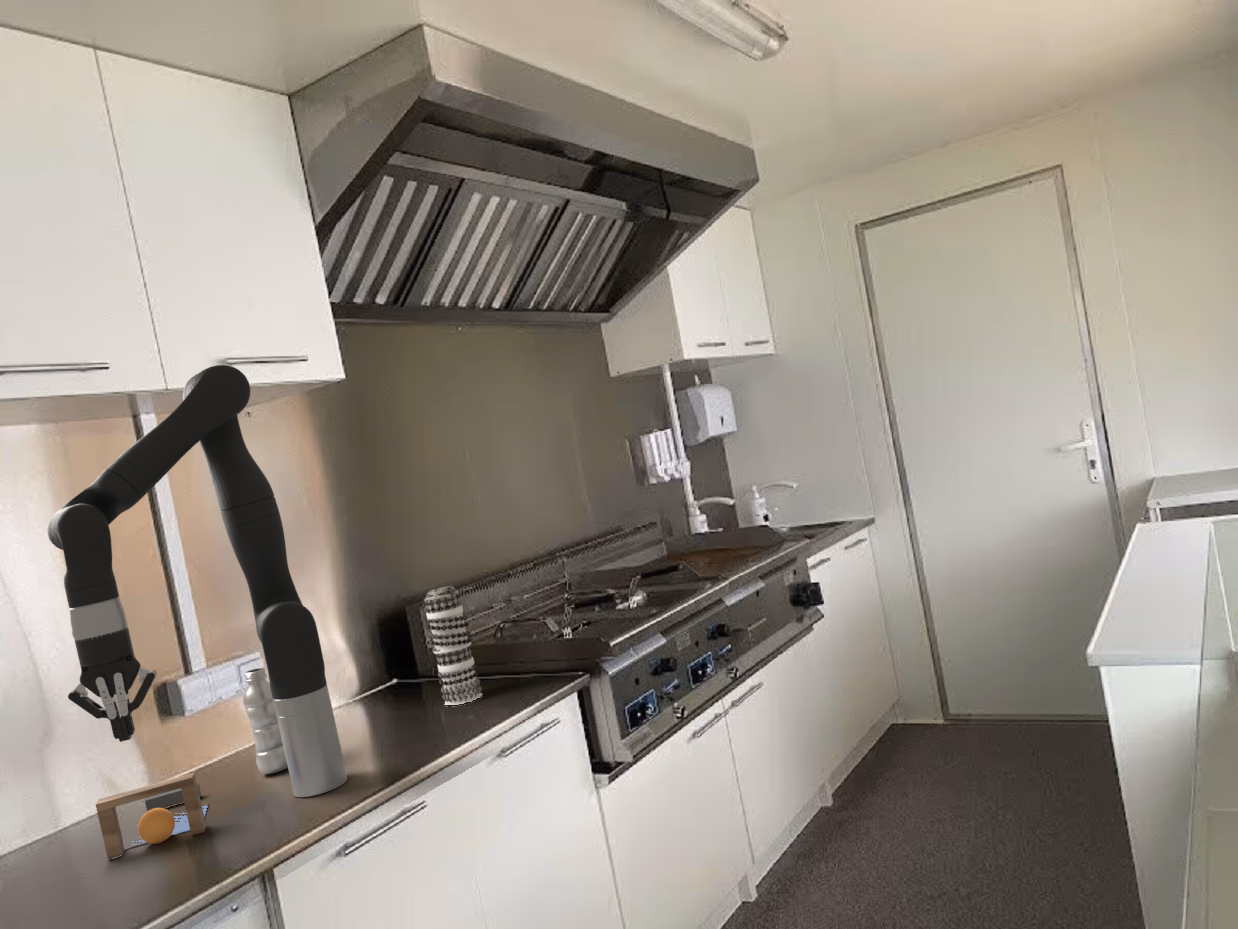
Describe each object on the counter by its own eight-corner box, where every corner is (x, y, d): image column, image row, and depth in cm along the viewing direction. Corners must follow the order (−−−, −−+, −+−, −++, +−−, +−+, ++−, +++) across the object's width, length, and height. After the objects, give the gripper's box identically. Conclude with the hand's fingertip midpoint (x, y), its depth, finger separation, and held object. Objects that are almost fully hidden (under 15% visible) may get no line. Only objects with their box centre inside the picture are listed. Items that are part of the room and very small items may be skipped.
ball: (140, 803, 160) (128, 839, 158) (175, 809, 161) (164, 845, 159) (149, 807, 165) (137, 842, 163) (182, 812, 166) (171, 847, 163)
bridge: (111, 854, 161) (99, 799, 161) (206, 826, 165) (194, 772, 165) (108, 860, 158) (95, 804, 158) (204, 832, 162) (192, 777, 162)
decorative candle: (433, 707, 217) (409, 595, 216) (464, 693, 224) (441, 585, 223) (462, 707, 211) (437, 592, 210) (492, 693, 218) (468, 582, 218)
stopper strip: (149, 811, 182) (146, 797, 182) (201, 796, 184) (198, 783, 184) (147, 814, 180) (144, 800, 180) (200, 799, 183) (197, 785, 183)
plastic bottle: (298, 762, 194) (276, 662, 193) (288, 774, 187) (265, 670, 187) (266, 769, 194) (244, 669, 193) (254, 781, 187) (231, 678, 186)
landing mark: (130, 828, 174) (129, 826, 174) (208, 805, 177) (208, 804, 177) (116, 852, 161) (116, 851, 161) (201, 827, 165) (201, 826, 165)
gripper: (150, 618, 160) (174, 722, 160) (59, 639, 156) (84, 746, 156) (143, 623, 153) (167, 733, 153) (48, 645, 149) (73, 758, 149)
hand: (125, 739), depth 155 cm, fingers closed
